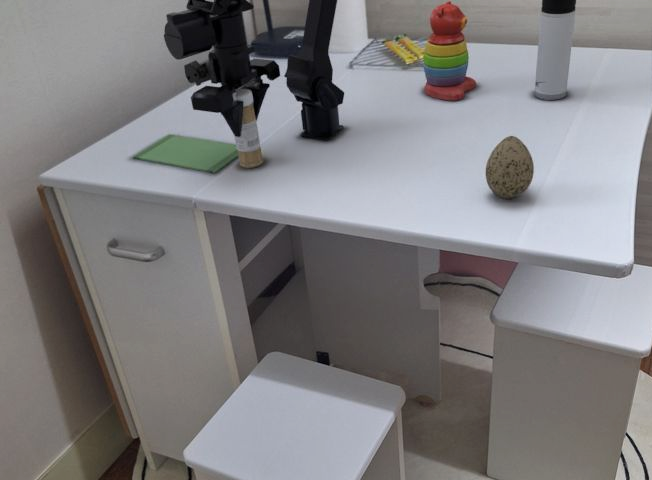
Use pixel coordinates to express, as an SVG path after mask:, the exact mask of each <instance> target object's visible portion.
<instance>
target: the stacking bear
mask: <svg viewBox="0 0 652 480" xmlns="http://www.w3.org/2000/svg"><path fill="white" fill-rule="evenodd" d="M467 23H468V18H467V16H466V15H465V14H464V12H463V11H462V10H461V8H460V7H459V6H457V5H456V4H454V3H452V1H450V0H448V1H446V2H445V3H443V4H439V5H437V6H435V7H434V9H432V11H431V13H430V17H429V25H430V28H431V31H432V33H431V34H430V35H429V37H428V39H427V40H426V42H425V45H424V46H425V47H424V52H423V59H422V62H423V63H422V65H423V72H424V76H425V79H426V82H425V85H424V93H425V94H427V95H428V96H430V97H432V98H434V99H438V100H444V101H452V102H453V101H455V102H456V101H461V100H462V99H464V98H465V92H467V91H470V90H473V89H475V88H476V87H477V81H476V80H475V79H474V78H472V77H470V76H467V72H468V68H469V58H470V56H469V50H468V45H467V41H466V36H465V35H464V33H463V32H462V31H463V30H464V29H465V28H466V25H467Z"/></svg>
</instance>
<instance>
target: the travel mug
mask: <svg viewBox="0 0 652 480" xmlns="http://www.w3.org/2000/svg"><path fill="white" fill-rule="evenodd" d="M576 5H577V0H541V9H540V18H539V31H538V43H537V53H536V54H537V55H536V57H537V58H536V66H535V68H536V69H535V77H534V78H535V79H534V91H533V95H534V96H535V98H537V99H540V100H544V101H556V100H561V99H563V98H565V97H566V96H567V90H568V81H569V74H570V73H569V72H570V64H571V63H570V62H571V56H572V55H571V53H572V46H573V45H572V44H573V38H574V37H573V35H574V29H575V28H574V27H575V20H576V19H575V18H576Z"/></svg>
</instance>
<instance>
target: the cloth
mask: <svg viewBox="0 0 652 480" xmlns="http://www.w3.org/2000/svg"><path fill="white" fill-rule="evenodd" d="M237 158H239V155H238V150H237V147H236V144H232V143H227V142H219V141H213V140H208V139H201V138H196V137H195V138H194V137H187V136H181V135H175V134H167V135H166V136H163V137H162V138H161V139H158V140H157V141H156V142H154V143H152V144H150V145H149V146H147V147H146V148H144V149H142V150H141V151H139V152H137V153H136V154H134V155H132V159H134V160H139V161H146V162H152V163H156V164H163V165H167V166H174V167H179V168H185V169H188V170H189V169H190V170H195V171H201V172H206V173H210V174H211V173H212V174H216V173H217V172H219V171H220V170H222V169H223V168H224V167H226V166H227V165H229V164H230V163H232V162H233V161H234V160H236V159H237Z"/></svg>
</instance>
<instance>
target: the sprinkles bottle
mask: <svg viewBox="0 0 652 480" xmlns="http://www.w3.org/2000/svg"><path fill="white" fill-rule="evenodd" d="M236 92H237V93H236V96H237V100H238V101H243V117H242V131H241V136H240V137H236V136H235V135H234V134H233V137H234V141H235V142H234V143H235V145H236V147H237V150H238V155H239V156H238V159H239V165H240V166H241V167H242V168H245V169H251V168H252V169H253V168H257V167H259V166H261V165H262V164H263V163H264V161H265V160H264V157H263V153H262V147H261V140H260V135H259V129H258V122H256V117H255V112H254V107H253V95H252V92H251V91H250V90H248V89H239V90H238V91H236Z"/></svg>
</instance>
